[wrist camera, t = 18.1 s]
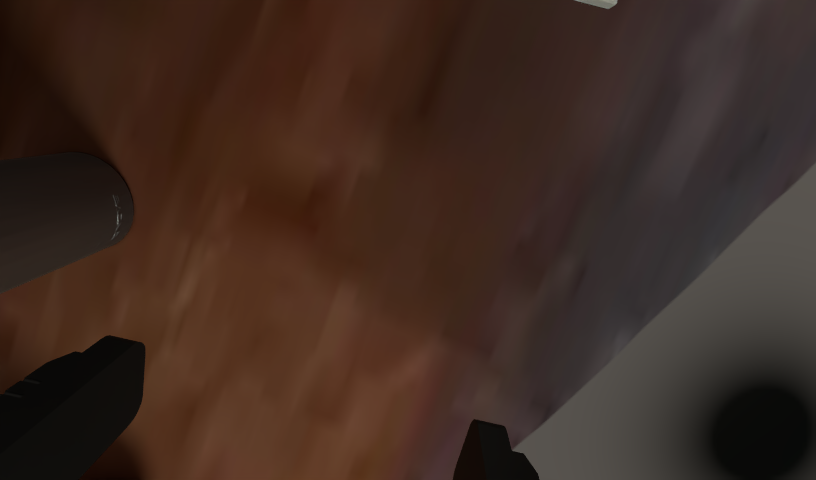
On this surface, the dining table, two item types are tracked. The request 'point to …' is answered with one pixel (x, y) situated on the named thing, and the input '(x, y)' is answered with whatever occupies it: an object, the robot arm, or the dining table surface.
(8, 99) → the dining table surface
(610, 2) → the rail panel
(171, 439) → the dining table surface
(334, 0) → the dining table surface
